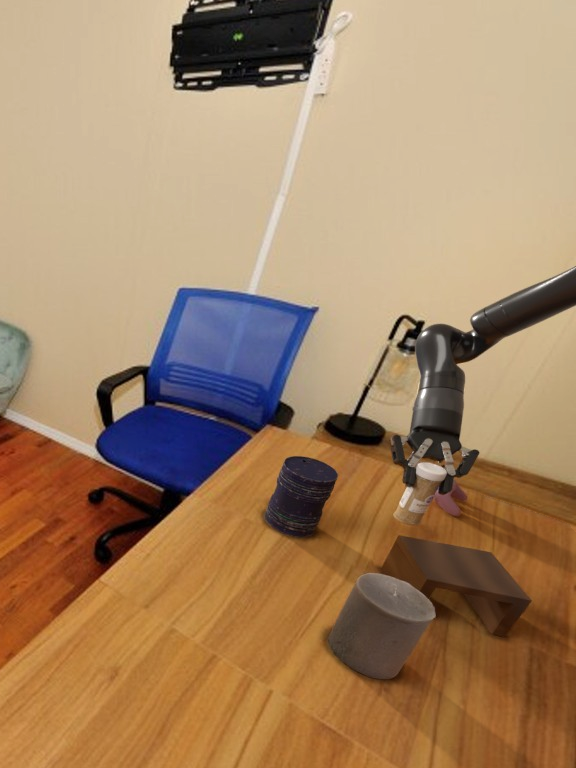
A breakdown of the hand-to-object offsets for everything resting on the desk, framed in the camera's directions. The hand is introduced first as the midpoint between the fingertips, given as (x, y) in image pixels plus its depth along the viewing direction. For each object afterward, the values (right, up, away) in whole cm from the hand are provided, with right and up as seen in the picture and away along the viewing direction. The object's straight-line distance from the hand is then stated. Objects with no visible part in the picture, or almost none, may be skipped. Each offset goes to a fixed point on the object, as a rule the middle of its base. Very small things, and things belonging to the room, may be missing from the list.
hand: (426, 489), depth 103 cm
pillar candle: (-28, -25, -17) cm, 41 cm away
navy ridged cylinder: (-20, -10, +12) cm, 25 cm away
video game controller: (+21, -6, +17) cm, 28 cm away
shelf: (-6, -20, -8) cm, 22 cm away
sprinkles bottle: (+1, -8, +6) cm, 9 cm away
